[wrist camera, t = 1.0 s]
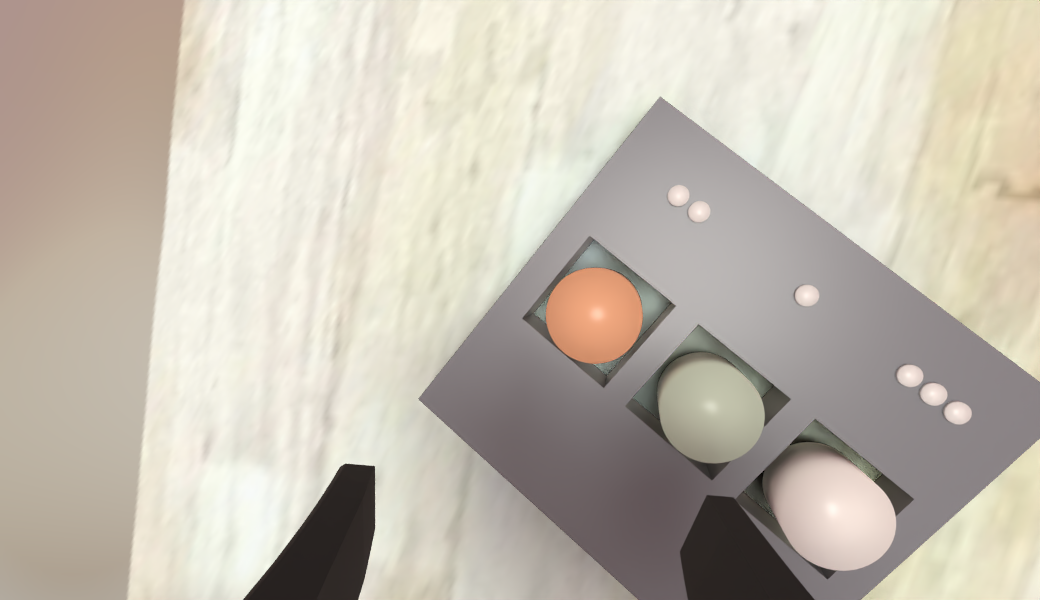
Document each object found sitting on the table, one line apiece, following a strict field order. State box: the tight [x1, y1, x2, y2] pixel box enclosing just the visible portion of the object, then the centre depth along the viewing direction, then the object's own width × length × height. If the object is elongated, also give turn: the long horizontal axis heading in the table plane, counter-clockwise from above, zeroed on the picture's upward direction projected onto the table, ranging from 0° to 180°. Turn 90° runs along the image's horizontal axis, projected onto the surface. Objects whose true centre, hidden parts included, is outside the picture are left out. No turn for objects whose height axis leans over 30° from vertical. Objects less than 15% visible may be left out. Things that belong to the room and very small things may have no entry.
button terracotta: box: [546, 268, 643, 364], centre depth 21 cm, size 4×4×3 cm
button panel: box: [419, 97, 1040, 600], centre depth 22 cm, size 18×16×3 cm
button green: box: [657, 352, 765, 463], centre depth 21 cm, size 4×4×3 cm
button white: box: [763, 442, 896, 571], centre depth 20 cm, size 4×4×3 cm
